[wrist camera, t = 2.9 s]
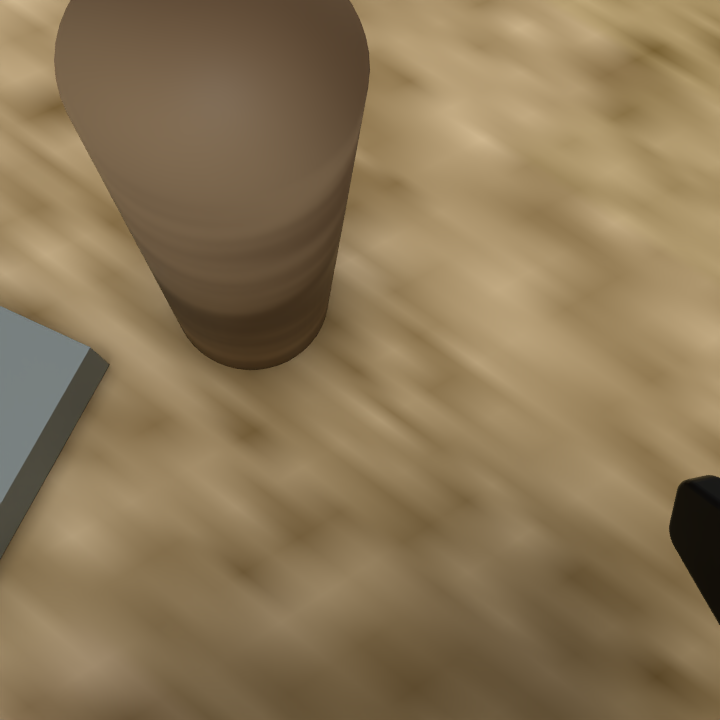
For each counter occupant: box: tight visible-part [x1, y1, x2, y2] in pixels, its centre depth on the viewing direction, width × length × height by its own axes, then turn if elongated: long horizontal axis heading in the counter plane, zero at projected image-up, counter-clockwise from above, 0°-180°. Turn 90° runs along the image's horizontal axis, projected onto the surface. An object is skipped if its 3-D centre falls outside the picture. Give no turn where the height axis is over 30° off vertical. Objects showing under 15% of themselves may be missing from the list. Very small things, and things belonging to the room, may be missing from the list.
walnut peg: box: [54, 0, 370, 370], centre depth 17 cm, size 5×5×12 cm
